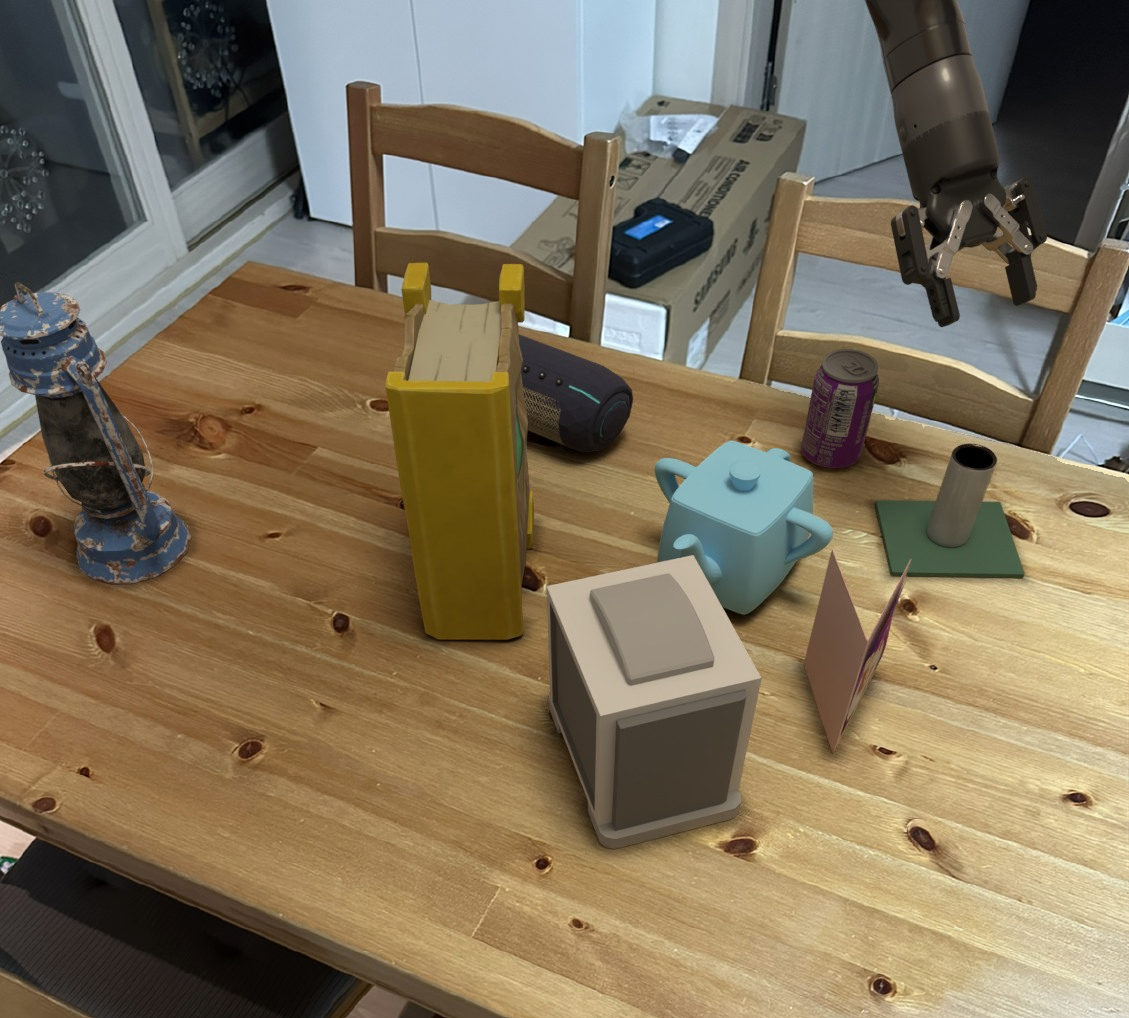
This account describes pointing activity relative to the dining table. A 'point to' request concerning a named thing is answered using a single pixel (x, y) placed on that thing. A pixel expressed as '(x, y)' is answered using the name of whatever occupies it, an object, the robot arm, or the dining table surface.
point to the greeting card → (843, 651)
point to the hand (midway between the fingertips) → (988, 313)
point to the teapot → (740, 520)
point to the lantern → (89, 442)
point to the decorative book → (464, 456)
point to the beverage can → (840, 408)
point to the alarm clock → (650, 698)
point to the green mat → (976, 558)
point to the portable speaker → (572, 397)
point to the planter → (961, 494)
